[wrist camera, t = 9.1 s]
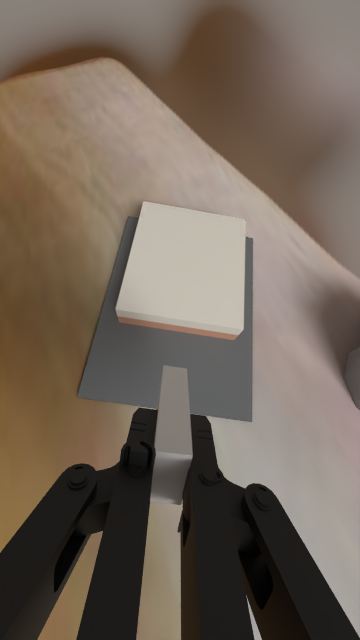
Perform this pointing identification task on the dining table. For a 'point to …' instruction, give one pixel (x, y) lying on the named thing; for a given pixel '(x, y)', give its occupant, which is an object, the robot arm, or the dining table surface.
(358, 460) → the dining table surface
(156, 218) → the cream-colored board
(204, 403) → the mat
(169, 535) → the dining table surface
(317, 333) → the dining table surface
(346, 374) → the toilet tissue
